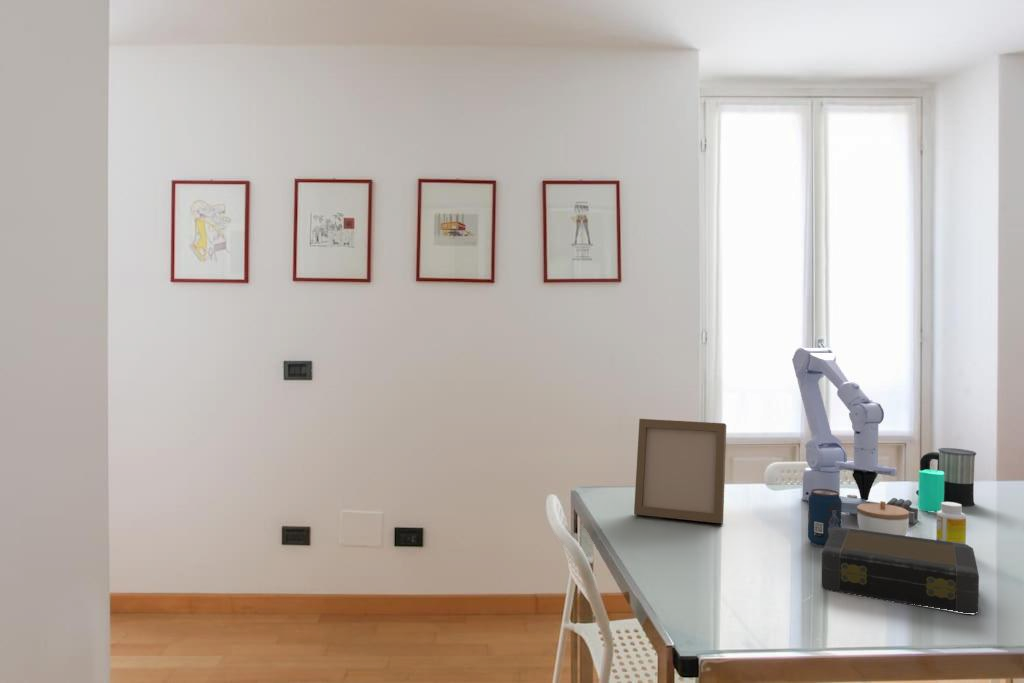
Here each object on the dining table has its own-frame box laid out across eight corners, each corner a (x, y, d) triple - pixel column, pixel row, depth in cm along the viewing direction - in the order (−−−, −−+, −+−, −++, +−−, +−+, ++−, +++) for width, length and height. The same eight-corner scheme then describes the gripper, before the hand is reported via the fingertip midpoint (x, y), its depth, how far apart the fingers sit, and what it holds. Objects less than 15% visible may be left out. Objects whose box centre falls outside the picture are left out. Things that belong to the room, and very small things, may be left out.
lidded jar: (906, 539, 166) (907, 499, 165) (910, 552, 156) (911, 509, 156) (855, 533, 170) (856, 494, 170) (856, 545, 160) (857, 504, 160)
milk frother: (975, 501, 203) (976, 449, 202) (976, 513, 189) (977, 458, 189) (917, 494, 210) (918, 445, 210) (914, 505, 197) (915, 452, 197)
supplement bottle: (971, 551, 157) (971, 505, 157) (955, 554, 154) (956, 508, 154) (946, 544, 162) (947, 499, 162) (930, 547, 159) (931, 502, 159)
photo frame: (721, 527, 175) (722, 426, 174) (633, 517, 183) (634, 421, 182) (727, 512, 188) (728, 419, 188) (645, 504, 196) (646, 414, 196)
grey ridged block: (883, 510, 180) (883, 504, 180) (891, 503, 187) (891, 497, 187) (905, 513, 177) (905, 507, 177) (911, 506, 184) (911, 500, 184)
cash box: (972, 582, 138) (972, 543, 138) (978, 619, 121) (979, 574, 121) (832, 560, 151) (833, 524, 151) (820, 590, 133) (820, 550, 133)
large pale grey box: (845, 514, 188) (845, 502, 187) (851, 509, 192) (851, 498, 192) (913, 524, 178) (913, 513, 178) (917, 519, 182) (918, 508, 182)
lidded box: (839, 498, 192) (839, 488, 191) (864, 500, 189) (864, 491, 189) (840, 512, 177) (841, 502, 177) (867, 514, 174) (868, 504, 174)
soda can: (815, 537, 166) (815, 486, 166) (845, 544, 161) (846, 491, 161) (802, 543, 162) (803, 491, 161) (833, 550, 157) (834, 496, 156)
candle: (937, 507, 195) (937, 464, 195) (948, 513, 189) (949, 468, 189) (914, 506, 196) (914, 463, 196) (924, 512, 190) (925, 467, 190)
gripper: (832, 447, 188) (831, 498, 189) (893, 453, 179) (892, 507, 180) (839, 444, 194) (838, 493, 194) (898, 450, 185) (898, 501, 185)
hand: (864, 499), depth 187 cm, fingers closed, pressing on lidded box
